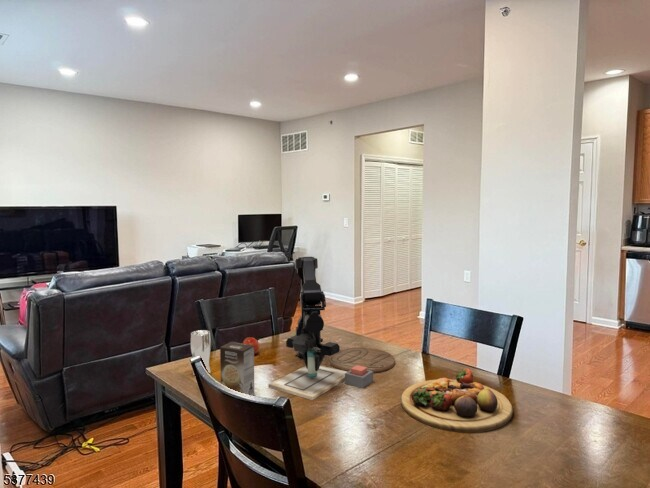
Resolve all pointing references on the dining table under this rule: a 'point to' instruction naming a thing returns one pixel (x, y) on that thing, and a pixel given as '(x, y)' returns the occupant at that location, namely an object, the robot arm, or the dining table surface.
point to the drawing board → (309, 382)
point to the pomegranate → (252, 343)
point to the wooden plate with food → (457, 404)
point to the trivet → (362, 359)
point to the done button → (359, 370)
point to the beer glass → (201, 346)
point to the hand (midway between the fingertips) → (312, 369)
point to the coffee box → (237, 367)
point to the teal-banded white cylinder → (311, 363)
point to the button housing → (359, 379)
